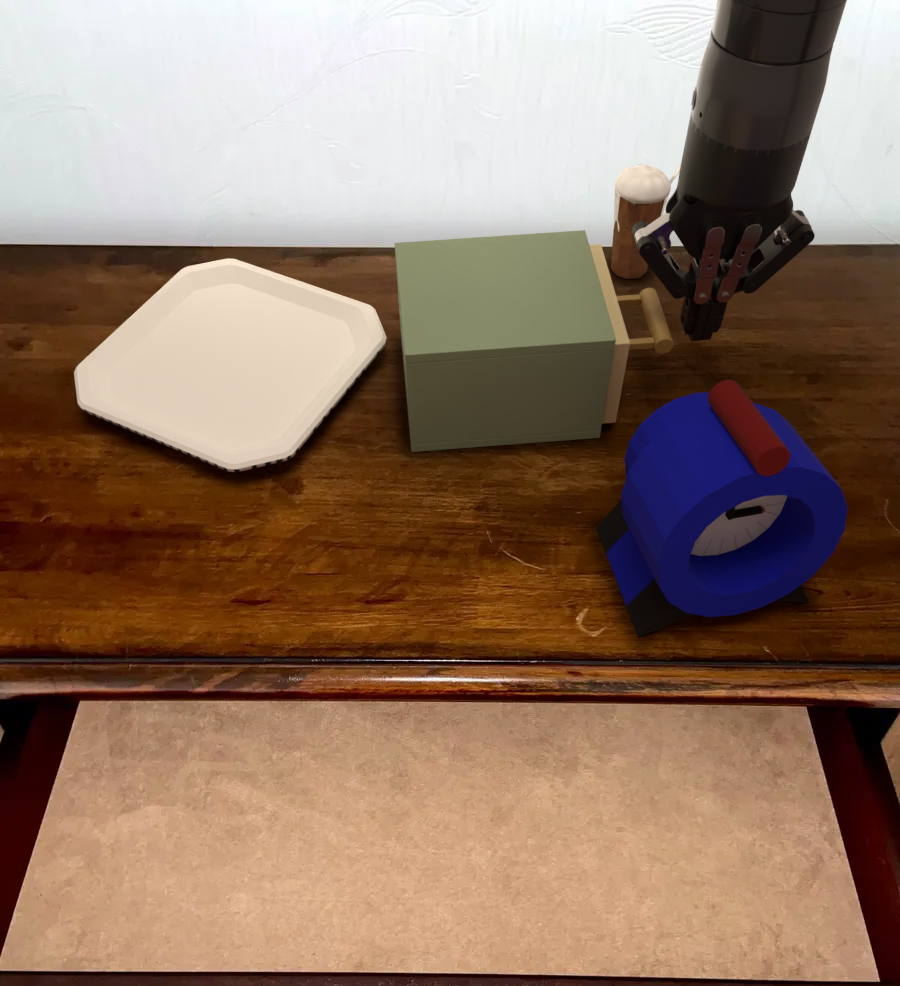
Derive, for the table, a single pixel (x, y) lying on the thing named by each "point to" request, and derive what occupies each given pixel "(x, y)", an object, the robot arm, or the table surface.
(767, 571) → the alarm clock
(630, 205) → the milkshake
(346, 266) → the table surface
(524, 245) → the cabinet
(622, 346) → the drawer
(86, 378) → the plate
